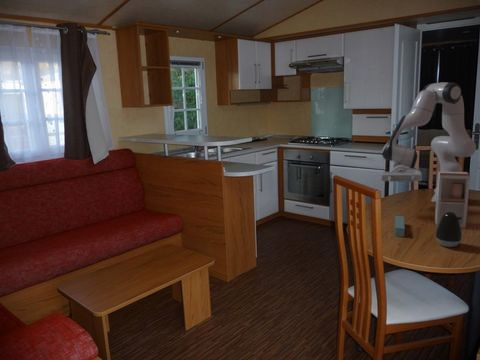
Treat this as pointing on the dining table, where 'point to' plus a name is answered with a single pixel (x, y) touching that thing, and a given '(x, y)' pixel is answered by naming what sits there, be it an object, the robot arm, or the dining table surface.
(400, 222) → the long teal rectangular block
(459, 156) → the robot arm
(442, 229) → the black roly-poly toy
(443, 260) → the dining table surface
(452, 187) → the terracotta jar
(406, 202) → the dining table surface
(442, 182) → the shelf unit
